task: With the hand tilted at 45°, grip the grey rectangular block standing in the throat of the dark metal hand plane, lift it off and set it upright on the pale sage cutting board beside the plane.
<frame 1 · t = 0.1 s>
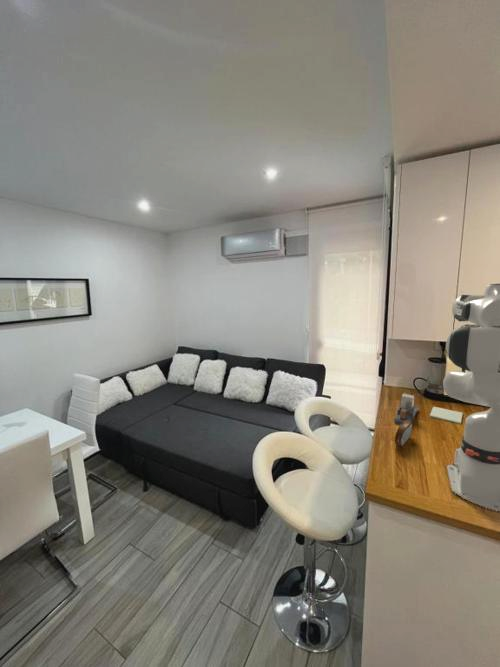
hand: (490, 359, 107), 39 cm above the worktop, tool pointing down, fingers open, 8 cm apart
grey rectangular block: (406, 411, 142), point 2 cm above the worktop, touching hand plane
cutting board: (446, 415, 142), on the worktop
hand plane: (406, 416, 143), on the worktop
tin: (403, 441, 121), on the worktop
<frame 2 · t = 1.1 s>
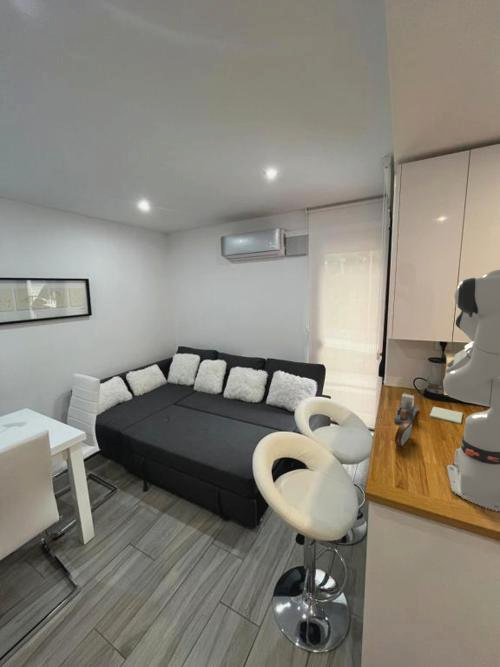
hand: (447, 369, 128), 29 cm above the worktop, tool tilted 45°, fingers open, 8 cm apart
nothing on the worktop moved.
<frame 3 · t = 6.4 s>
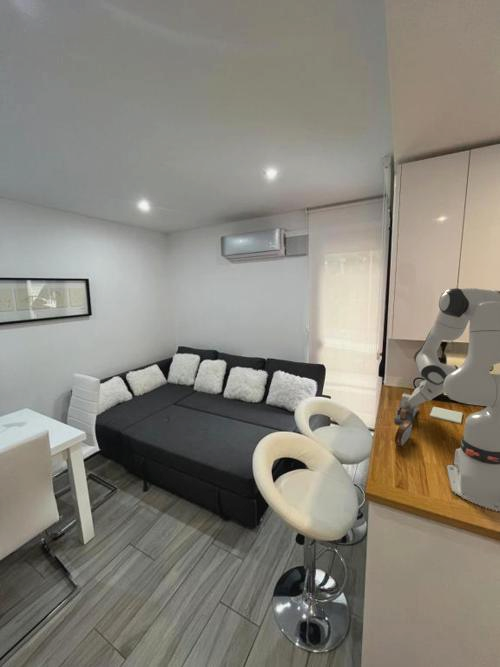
hand: (406, 402, 142), 8 cm above the worktop, tool tilted 45°, fingers closed on grey rectangular block, 4 cm apart
grey rectangular block: (406, 411, 142), point 2 cm above the worktop, touching gripper, hand plane
everything else where it was.
when the fingers open (8 cm above the worktop, at t = 11.1 s): grey rectangular block drops 1 cm, resting on cutting board.
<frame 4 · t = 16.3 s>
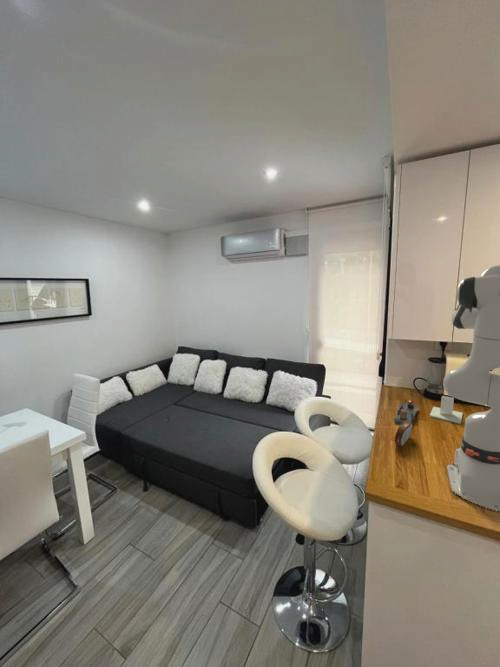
hand: (482, 362, 129), 31 cm above the worktop, tool pointing down, fingers open, 8 cm apart
grey rectangular block: (446, 414, 142), point 1 cm above the worktop, touching cutting board
everything else where it was.
at the end: grey rectangular block inside the target area on the cutting board (0.1 cm from its centre), point 0.8 cm above the cutting board's base; grey rectangular block tilted 0°; the gripper is holding nothing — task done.
